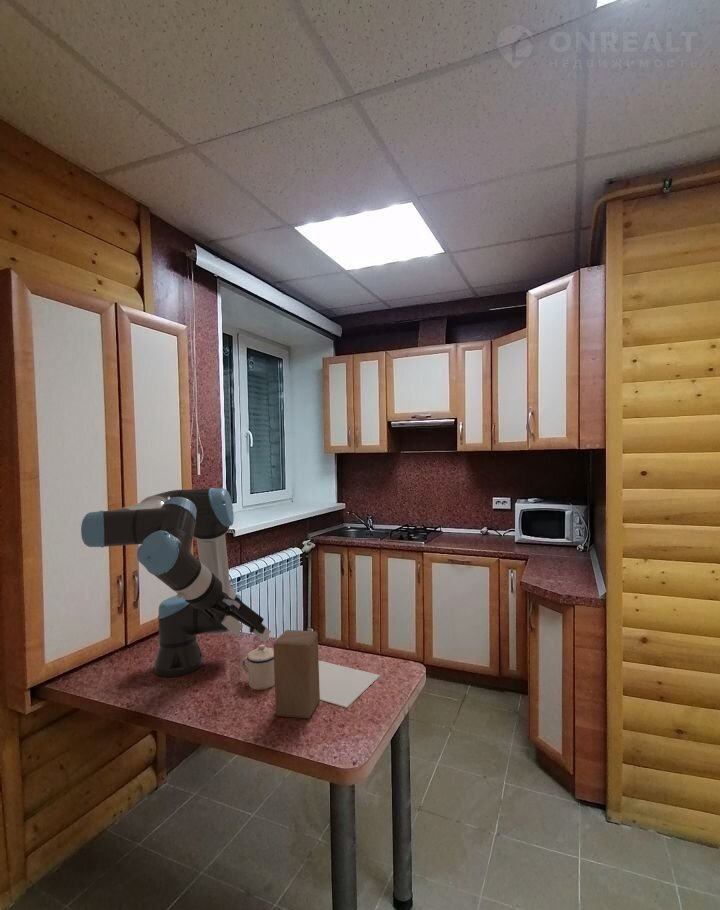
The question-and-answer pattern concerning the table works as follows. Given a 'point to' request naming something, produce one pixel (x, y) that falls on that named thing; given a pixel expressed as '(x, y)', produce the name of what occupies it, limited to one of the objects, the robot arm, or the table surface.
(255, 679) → the teacup with lid
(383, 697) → the table surface
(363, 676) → the mat
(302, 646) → the block
